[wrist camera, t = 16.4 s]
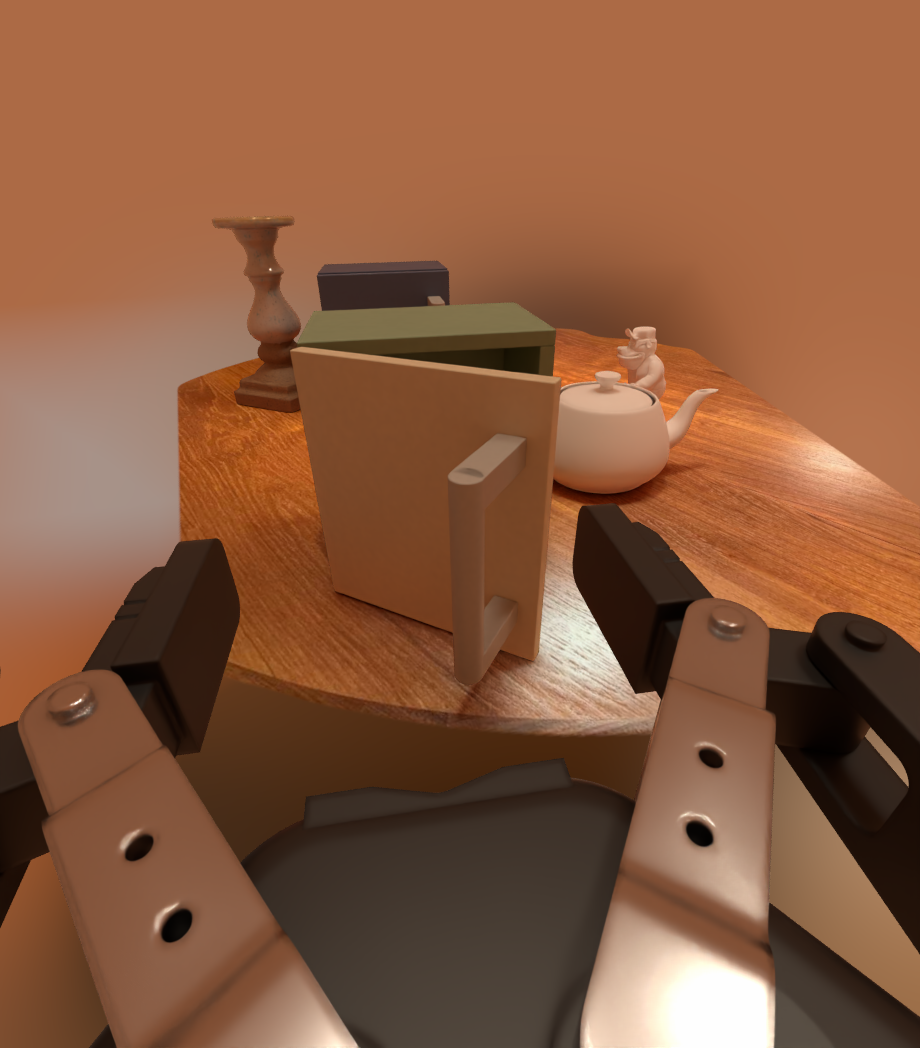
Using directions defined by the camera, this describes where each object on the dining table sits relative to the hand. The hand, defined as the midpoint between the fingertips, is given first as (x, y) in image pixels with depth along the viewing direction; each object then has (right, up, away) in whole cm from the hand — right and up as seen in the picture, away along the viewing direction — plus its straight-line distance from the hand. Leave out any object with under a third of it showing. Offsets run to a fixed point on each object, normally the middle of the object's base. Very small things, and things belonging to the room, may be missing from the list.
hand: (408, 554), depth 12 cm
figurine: (+23, +13, +56) cm, 62 cm away
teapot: (+16, +6, +44) cm, 47 cm away
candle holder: (-25, +20, +69) cm, 76 cm away
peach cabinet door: (-2, -7, +22) cm, 24 cm away
